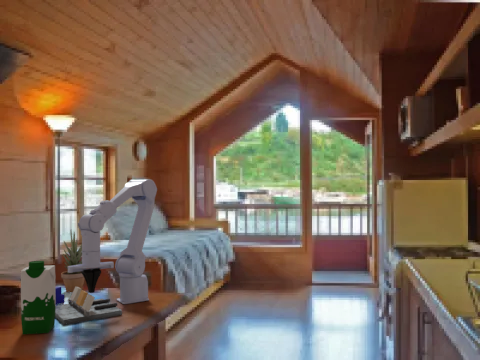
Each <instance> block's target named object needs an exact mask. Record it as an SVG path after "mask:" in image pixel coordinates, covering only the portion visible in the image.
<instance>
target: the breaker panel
mask: <svg viewBox="0 0 480 360" xmlns="http://www.w3.org/2000/svg"><path fill="white" fill-rule="evenodd" d="M98 300H105V298H96V299H94V301H98ZM107 304H112V303H111V302H105V303H98V304H92V306H91V308H90V310H89V311H87V310H85V309H83V308H82V307H83V306H79V305H78V304H76V302H75V301H72V300H71V299H70V298H68V303H64V304H63V303H62V304H58V305H56V309H55V319H56V320H58V321H59V322H60V323H61V324H62V325H63V326H66V325H72V324H76V323H83V322H88V321H89V320H90V321H95V320H101V319H105V318H111V317H118V316H122V315H123V310H122V309H121V308H119V307H118V306H114V307H108V308H102V309H94V307H95V306H100V305H107ZM94 319H95V320H94Z"/></svg>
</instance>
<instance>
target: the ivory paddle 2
mask: <svg viewBox="0 0 480 360" xmlns="http://www.w3.org/2000/svg"><path fill="white" fill-rule="evenodd" d="M95 298H96V297H95V296H94V295H92V294H90V293H88V295H87V297H86V299H85V302H84V304H83V307H82V308H83V309H85V310H87V311H89V310H90V308H91V306H92V303H93V301H94V300H96V299H95Z"/></svg>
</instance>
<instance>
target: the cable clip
mask: <svg viewBox="0 0 480 360" xmlns="http://www.w3.org/2000/svg"><path fill="white" fill-rule="evenodd" d="M55 294H56V305H62V304H63V303H64V304H65V294H64V293H62V286H55Z"/></svg>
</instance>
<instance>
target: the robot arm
mask: <svg viewBox="0 0 480 360" xmlns="http://www.w3.org/2000/svg"><path fill="white" fill-rule="evenodd" d="M157 191H158V188H157V185H156V183H155V181H154V180H153V179H150V178H148V179H130V180H129V181H128V182H126V183H124V187H123V188H122V189H120V190H119V191H118V192H117V193H116V194H115V195H114V196H113V197H112V198H111V199H110V200H107V199H106V200H101V201H100V202H99V205H98V206H96V207H95V208H94V209H91V210H89V213H88V214H87V213H86V214H83V215H82V216H81V217H80V219H79V221H78V222H77V227H78V229H79V231H80V235H81V245H82V257H81V260H82V264H79V265H73V266H67V268H68V270H67V271H68V272H69V273H73V272H79V271H81V272H82V274H83V276H84V278H85V280H84V282H85V283H86V286H87V290H88V292H87V293H88V294H92V293H93V294H94V293H95V290H96V286H97V284H98V281H99V278H100V276H101V274H102V270H105V269H115V271H116V273H118V276H119V297H118V298H115V300H116V301H118V302H119V303H121V304H123V305H129V304H134V303H140V302H145V301H146V302H148V301H149V300H150V299H149V281H148V277H147V275H146V274H143V273H144V272H145V268H146V257H147V256H146V255H145V253H144V252H143V247H144V245H145V241H146V237H147V234H148V230H149V226H150V223H151V219H152V217H153V213H154V210H155V199H156V195H157ZM130 199H132V200H133V201H134V202H135V204H137V207H138V209H137V211H136V216H135V219H134V221H133V226H132V228H131V232H130V235H129V240H128V243H127V246H126V247H125V248H124V249H123V250H121V252H120V254H119V257H118V258H117V259H116V260H115V264H114V261H103V262H102V261H101V231H103V228H104V227H105V224H106V222H107V221H108V220H110V219H111V218H112V217H113V216H115V214H116V213H117V212H118V211H117V209H118V208H119V207H120V206H122V205H123V204H124V203H126V201H128V200H130ZM114 267H115V268H114Z"/></svg>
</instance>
